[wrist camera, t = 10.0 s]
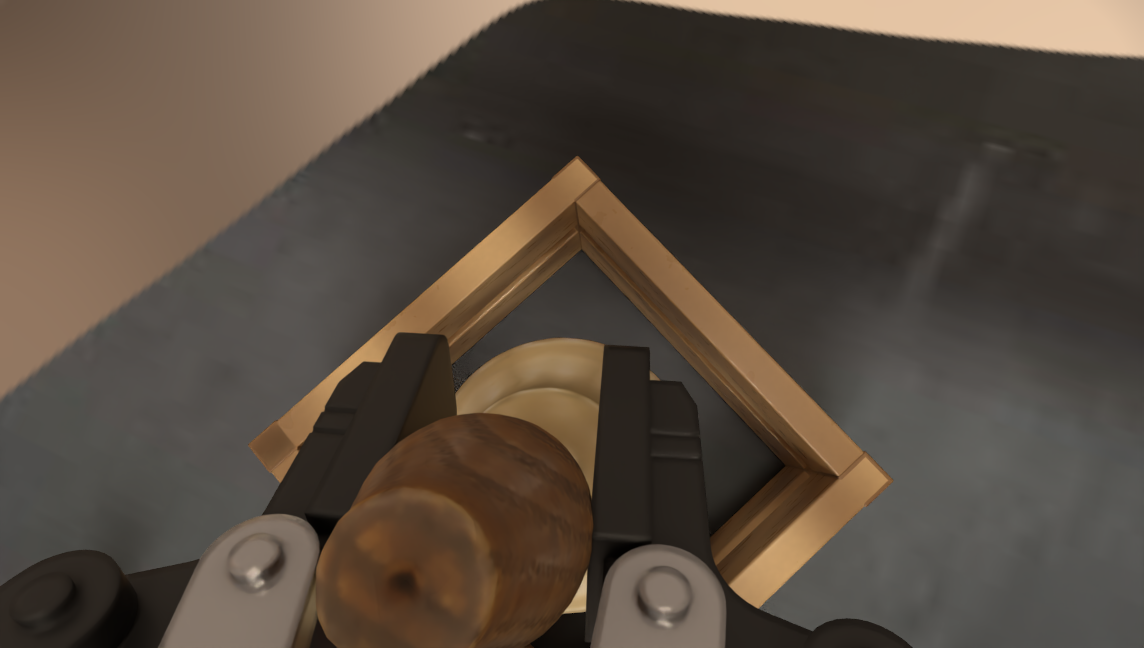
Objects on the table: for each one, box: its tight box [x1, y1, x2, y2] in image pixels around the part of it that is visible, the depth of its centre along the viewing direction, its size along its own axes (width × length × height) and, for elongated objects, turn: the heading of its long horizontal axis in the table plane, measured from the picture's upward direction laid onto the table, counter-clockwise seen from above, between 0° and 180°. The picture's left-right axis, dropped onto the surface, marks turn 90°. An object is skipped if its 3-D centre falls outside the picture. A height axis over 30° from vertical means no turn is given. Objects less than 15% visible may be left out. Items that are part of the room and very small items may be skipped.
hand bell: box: [316, 338, 661, 648], centre depth 12 cm, size 8×8×16 cm
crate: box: [248, 156, 893, 648], centre depth 25 cm, size 16×16×6 cm
